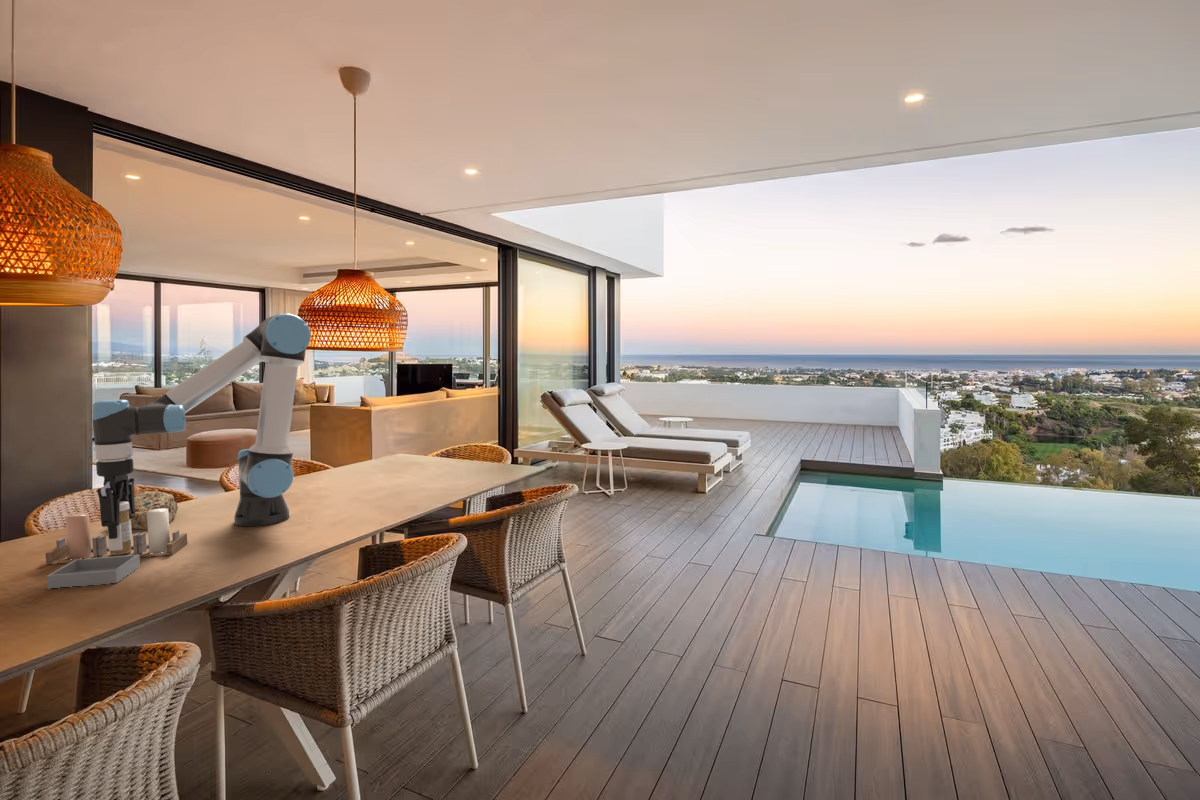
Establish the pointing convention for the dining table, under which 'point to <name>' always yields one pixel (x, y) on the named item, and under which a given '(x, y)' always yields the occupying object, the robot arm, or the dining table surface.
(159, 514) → the cream jar
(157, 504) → the rock
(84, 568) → the tray
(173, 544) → the rack
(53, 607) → the dining table surface
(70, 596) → the dining table surface
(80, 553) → the pink cylinder
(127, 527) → the sprinkles bottle
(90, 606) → the dining table surface
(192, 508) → the dining table surface
